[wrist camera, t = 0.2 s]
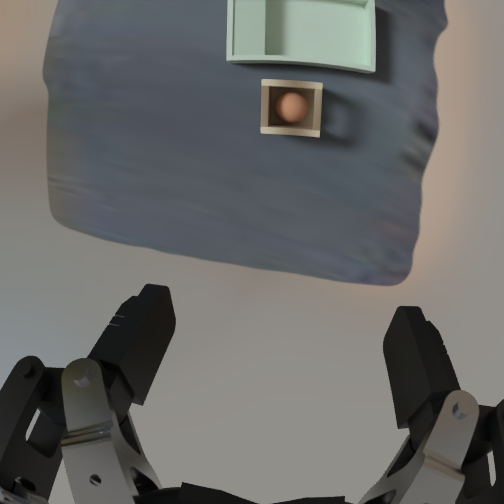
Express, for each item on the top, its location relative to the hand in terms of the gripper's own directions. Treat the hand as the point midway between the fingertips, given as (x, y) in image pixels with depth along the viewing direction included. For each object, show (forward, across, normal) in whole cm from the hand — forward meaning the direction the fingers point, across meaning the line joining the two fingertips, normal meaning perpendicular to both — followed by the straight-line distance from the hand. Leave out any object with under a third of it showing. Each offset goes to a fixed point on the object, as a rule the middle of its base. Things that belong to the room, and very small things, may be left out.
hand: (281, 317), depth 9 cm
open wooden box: (+28, 0, -6) cm, 28 cm away
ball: (+25, 0, -6) cm, 26 cm away
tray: (+28, -1, -16) cm, 32 cm away
